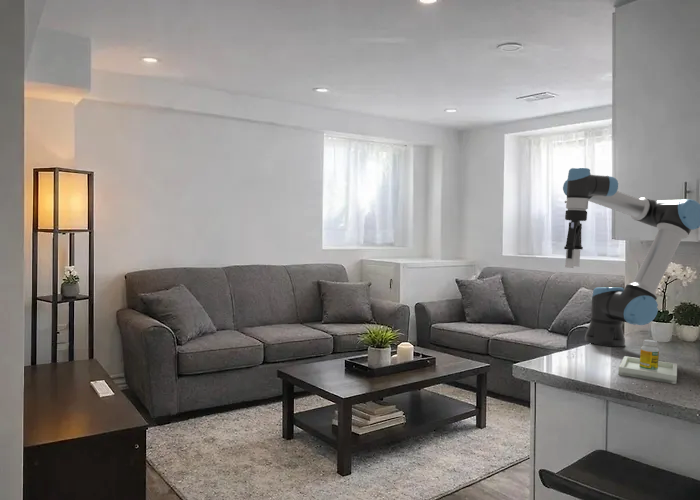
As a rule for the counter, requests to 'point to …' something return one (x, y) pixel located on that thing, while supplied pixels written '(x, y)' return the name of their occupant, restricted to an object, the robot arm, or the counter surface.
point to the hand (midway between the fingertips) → (572, 267)
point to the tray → (663, 374)
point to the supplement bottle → (649, 356)
